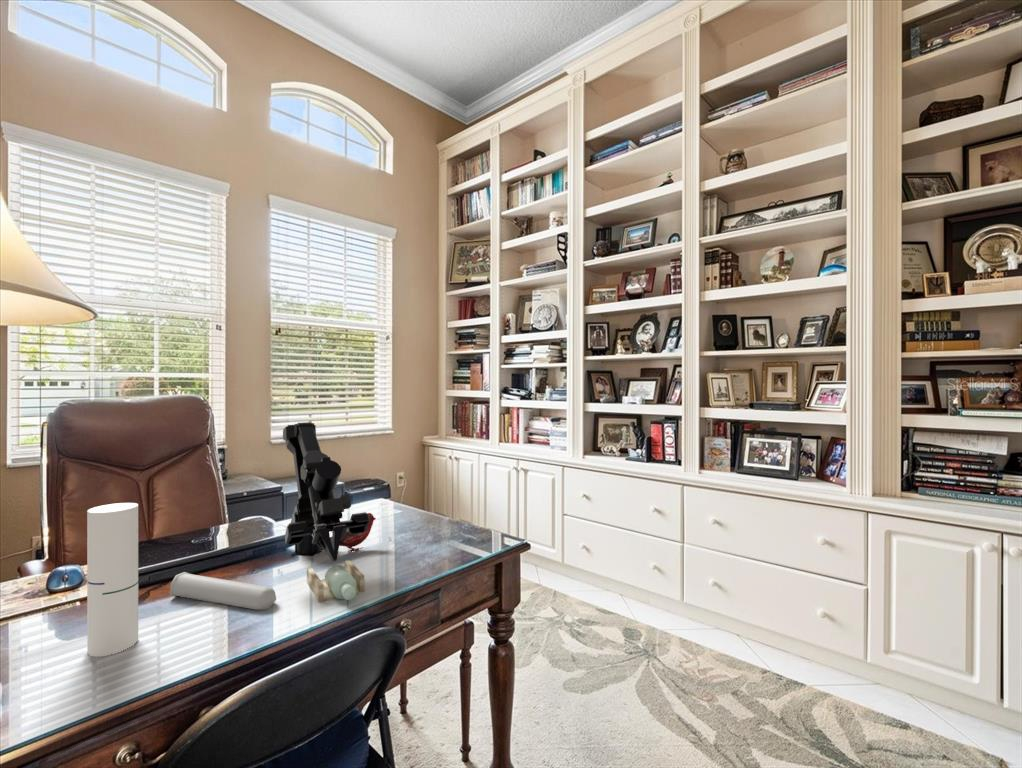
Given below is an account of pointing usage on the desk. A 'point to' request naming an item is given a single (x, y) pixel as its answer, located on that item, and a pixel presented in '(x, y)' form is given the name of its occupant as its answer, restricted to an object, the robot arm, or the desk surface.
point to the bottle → (341, 582)
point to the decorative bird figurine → (356, 536)
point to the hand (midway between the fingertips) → (335, 560)
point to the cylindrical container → (112, 578)
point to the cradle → (321, 587)
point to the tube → (222, 591)
